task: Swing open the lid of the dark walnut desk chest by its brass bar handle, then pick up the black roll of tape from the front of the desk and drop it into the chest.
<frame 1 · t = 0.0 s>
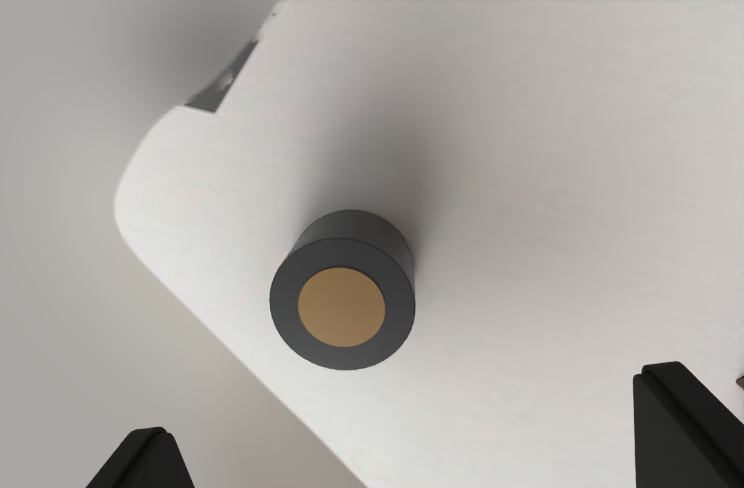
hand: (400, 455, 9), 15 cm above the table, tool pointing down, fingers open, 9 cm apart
tape: (352, 268, 24), on the table
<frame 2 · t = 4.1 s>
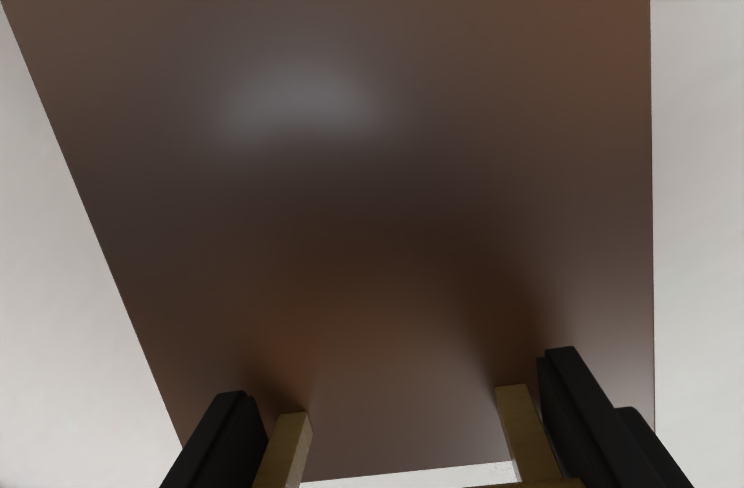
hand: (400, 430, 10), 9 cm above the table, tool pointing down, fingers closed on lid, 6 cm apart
lid: (344, 235, 7), point 10 cm above the table, hinge at 0.0°, touching gripper
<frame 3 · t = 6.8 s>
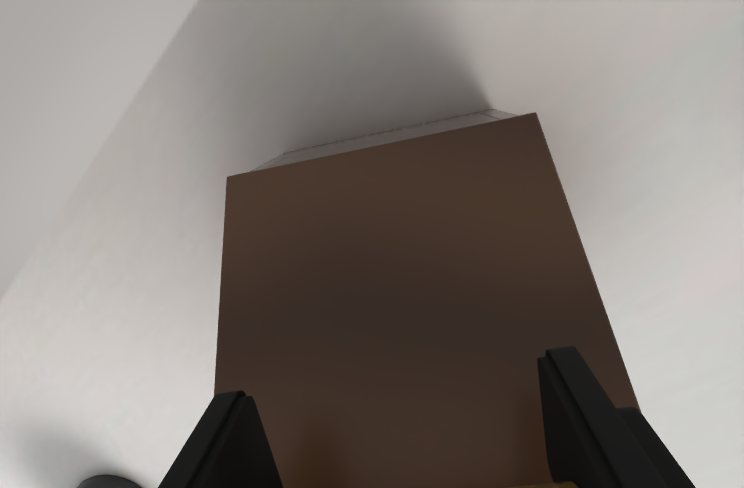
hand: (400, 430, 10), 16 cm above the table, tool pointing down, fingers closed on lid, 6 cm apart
lid: (387, 310, 11), point 14 cm above the table, hinge at 45.4°, touching gripper
chest: (407, 245, 25), on the table
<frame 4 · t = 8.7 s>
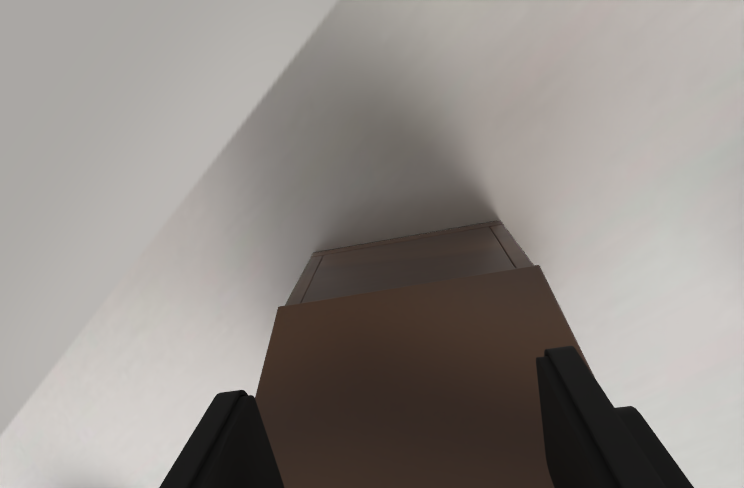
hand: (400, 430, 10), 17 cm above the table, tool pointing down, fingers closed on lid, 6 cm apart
lid: (405, 390, 13), point 15 cm above the table, hinge at 73.9°, touching gripper
chest: (422, 331, 29), on the table
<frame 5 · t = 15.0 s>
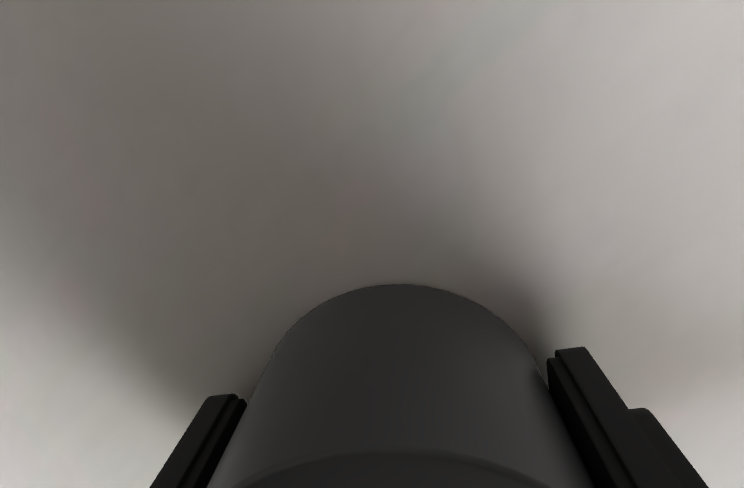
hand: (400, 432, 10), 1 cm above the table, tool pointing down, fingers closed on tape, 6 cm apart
tape: (400, 411, 10), on the table, touching gripper
when the fingers open (9 cm above the table, at t = 40.4 s): tape drops 7 cm, resting on chest.
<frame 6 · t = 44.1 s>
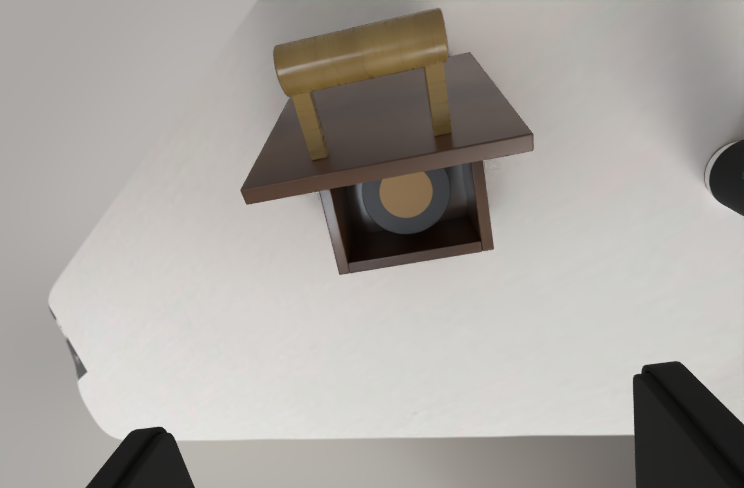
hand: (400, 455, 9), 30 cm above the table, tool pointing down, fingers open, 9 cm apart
lid: (372, 67, 21), point 15 cm above the table, hinge at 74.2°
chest: (400, 159, 37), on the table
tape: (405, 179, 37), point 1 cm above the table, touching chest
dixie cup: (735, 170, 36), on the table
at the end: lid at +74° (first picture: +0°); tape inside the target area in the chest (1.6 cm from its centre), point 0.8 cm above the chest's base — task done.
